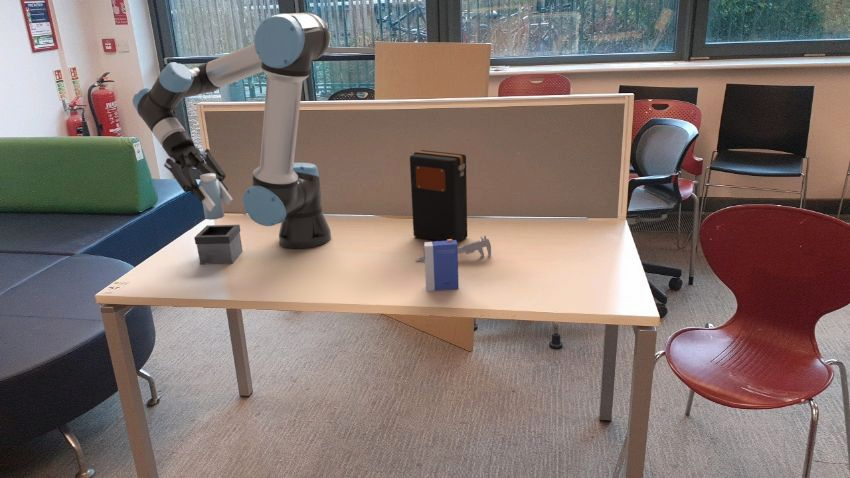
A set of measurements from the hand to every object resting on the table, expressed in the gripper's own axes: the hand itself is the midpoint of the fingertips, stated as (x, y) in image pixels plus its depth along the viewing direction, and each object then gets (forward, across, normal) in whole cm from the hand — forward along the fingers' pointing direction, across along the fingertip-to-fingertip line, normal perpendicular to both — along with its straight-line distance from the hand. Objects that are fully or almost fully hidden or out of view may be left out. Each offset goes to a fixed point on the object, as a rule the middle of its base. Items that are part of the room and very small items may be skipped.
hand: (221, 205), depth 168 cm
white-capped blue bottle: (0, 0, -5) cm, 5 cm away
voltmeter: (+40, -44, +17) cm, 62 cm away
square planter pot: (+8, 0, -15) cm, 17 cm away
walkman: (+54, -16, +31) cm, 64 cm away
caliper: (+49, -33, +25) cm, 64 cm away
